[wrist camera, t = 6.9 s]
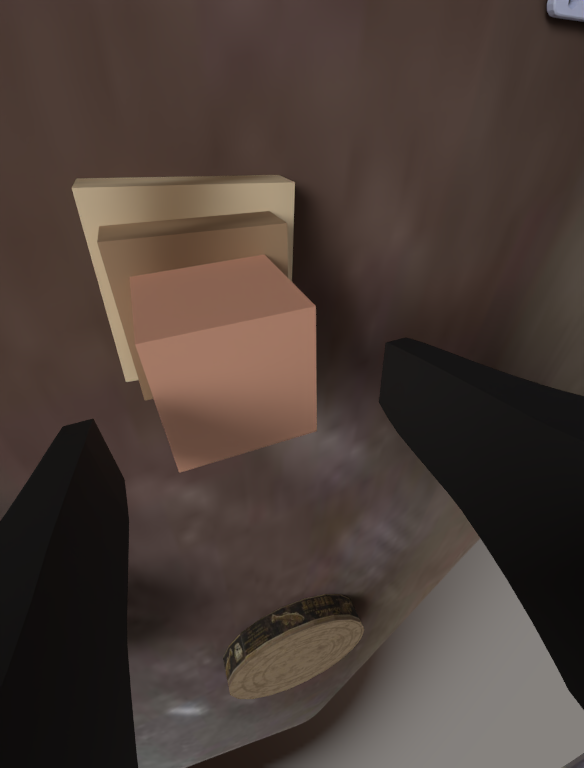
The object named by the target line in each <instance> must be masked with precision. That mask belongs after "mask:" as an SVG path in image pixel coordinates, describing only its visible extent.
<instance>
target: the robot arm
mask: <svg viewBox="0 0 584 768" xmlns="http://www.w3.org/2000/svg"><path fill="white" fill-rule="evenodd" d="M568 3H569V0H548V2H547V12H548V14H549V16H551V17H555V18H561V19H568V20H574V21H581V22H584V0H570V3H569V5H568ZM379 403H380V405H381V407H382V408H383V410H384V412H385V413H386V415H387V417H388V418H389V420H390V422H391V423H392V425H393V426H394V428H395V429H396V431H397V432H398V434H399V435H400V436H401V437H402V439H403V440H404V441H405V442H406V443H407V445H408V446H409V447H410V448H411V450H412V451H413V452H414V453H415V454H416V456H417V457H418V458H419V459H420V460H421V461H422V463H423V464H424V465H425V466H426V467H427V469H428V470H429V471H430V472H431V473H432V475H433V476H434V477H435V478H436V479H437V481H438V482H439V483H440V484H441V485H442V486H443V488H444V489H445V490H446V491H447V492H448V494H449V495H450V496H451V497H452V499H453V500H454V501H455V502H456V504H457V505H458V506H459V508H460V509H461V510H462V512H463V513H464V515H465V516H466V518H467V519H468V521H469V522H470V523H471V525H472V526H473V528H474V529H475V531H476V532H477V534H478V535H479V537H480V538H481V540H482V541H483V543H484V544H485V546H486V547H487V549H488V550H489V552H490V553H491V555H492V556H493V558H494V560H495V561H496V563H497V564H498V566H499V568H500V569H501V571H502V572H503V574H504V575H505V577H506V578H507V580H508V582H509V584H510V585H511V587H512V589H513V590H514V592H515V594H516V595H517V597H518V599H519V600H520V602H521V604H522V605H523V607H524V609H525V611H526V612H527V614H528V616H529V617H530V619H531V621H532V622H533V624H534V626H535V628H536V630H537V632H538V633H539V635H540V637H541V639H542V641H543V642H544V644H545V646H546V648H547V650H548V652H549V653H550V655H551V657H552V659H553V661H554V663H555V665H556V666H557V668H558V670H559V672H560V674H561V676H562V678H563V680H564V682H565V684H566V686H567V688H568V690H569V691H570V693H571V694H572V695H573V696H574V698H575V699H576V700H577V702H578V703H579V704H580V706H581V707H582V708H583V709H584V396H580V395H576V394H573V393H569V392H565V391H561V390H557V389H554V388H551V387H547V386H544V385H540V384H537V383H534V382H531V381H528V380H525V379H522V378H519V377H516V376H513V375H510V374H507V373H504V372H501V371H498V370H495V369H493V368H490V367H487V366H484V365H482V364H479V363H476V362H474V361H471V360H468V359H466V358H463V357H460V356H458V355H455V354H452V353H450V352H447V351H444V350H442V349H439V348H436V347H434V346H431V345H428V344H425V343H422V342H419V341H416V340H413V339H409V338H402V339H398V340H394V341H391V342H387V343H386V344H385V353H384V362H383V371H382V379H381V388H380V397H379ZM128 549H129V516H128V506H127V497H126V489H125V480H124V478H123V476H122V474H121V472H120V470H119V468H118V466H117V464H116V462H115V460H114V458H113V456H112V454H111V452H110V450H109V448H108V446H107V444H106V442H105V441H104V439H103V437H102V435H101V433H100V431H99V429H98V427H97V425H96V423H95V421H94V419H90V420H86V421H82V422H79V423H75V424H71V425H67V426H63V427H62V429H61V430H60V432H59V433H58V435H57V436H56V438H55V439H54V441H53V442H52V444H51V445H50V447H49V448H48V450H47V451H46V453H45V455H44V456H43V458H42V459H41V461H40V462H39V464H38V466H37V467H36V469H35V470H34V472H33V473H32V475H31V476H30V478H29V480H28V481H27V483H26V484H25V486H24V487H23V489H22V490H21V492H20V493H19V495H18V496H17V498H16V499H15V500H14V502H13V503H12V505H11V506H10V508H9V509H8V511H7V512H6V514H5V515H4V517H3V518H2V520H1V521H0V768H138V762H137V753H136V743H135V732H134V721H133V710H132V700H131V687H130V674H129V661H128V648H127V592H128ZM562 768H584V753H583V754H582V755H580V756H579V757H577V758H576V759H575V760H573V761H571V762H570V763H568V764H567V765H565V766H564V767H562Z"/></svg>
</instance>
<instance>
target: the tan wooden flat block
mask: <svg viewBox="0 0 584 768" xmlns="http://www.w3.org/2000/svg"><path fill="white" fill-rule="evenodd" d="M97 244H98V247H99V250H100V254H101V257H102V260H103V264H104V267H105V270H106V274H107V277H108V280H109V283H110V287H111V290H112V293H113V297H114V300H115V303H116V307H117V310H118V313H119V317H120V320H121V323H122V326H123V330H124V333H125V336H126V340H127V343H128V346H129V350H130V353H131V356H132V359H133V363H134V366H135V369H136V373H137V376H138V379H139V383H140V386H141V389H142V393H143V396H144V399H145V400H150V399H154V398H153V395H152V392H151V389H150V386H149V384H148V381H147V378H146V375H145V372H144V369H143V366H142V363H141V360H140V357H139V355H138V352H137V349H136V346H135V338H134V326H133V314H132V302H131V289H130V277H132V276H138V275H144V274H150V273H156V272H162V271H168V270H174V269H180V268H186V267H192V266H198V265H204V264H210V263H216V262H222V261H228V260H234V259H240V258H246V257H252V256H258V255H263V254H265V255H266V256H267V258H268V259H269V260H270V261H271V262H272V263H273V264H274V265H275V266H276V267H277V268H278V269H279V270H280V271H281V272H282V273H283V274H284V275H285V276H286V277H287V278H288V230H287V222H285V221H284V220H282V219H281V218H279V217H278V216H276V215H275V214H273V213H272V212H270V211H263V212H252V213H241V214H230V215H218V216H207V217H196V218H185V219H174V220H163V221H151V222H140V223H129V224H118V225H107V226H99V230H98V239H97Z"/></svg>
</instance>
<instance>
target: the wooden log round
mask: <svg viewBox="0 0 584 768" xmlns="http://www.w3.org/2000/svg"><path fill="white" fill-rule="evenodd" d="M363 631H364V628H363V626H362V623H361V621H360V619H359V617H358V615H357V613H356V611H355V609H354V606H353V604H352V602H351V600H350V598H348V597H345V596H343V595H340V594H324V595H319V596H315V597H310V598H306V599H303V600H300V601H297V602H295V603H292V604H289V605H287V606H284V607H282V608H280V609H278V610H276V611H274V612H272V613H271V614H269V615H267V616H265V617H263V618H261V619H260V620H258V621H257V622H255V623H254V624H253V625H251V626H250V627H249V628H247V629H246V630H244V631H243V632H242V633H241V634H240V635H239V636H238V637H237V638H236V639H235V640H234V641H233V642H232V643H231V644H230V645H229V647H228V649H227V651H226V653H225V655H224V657H223V660H224V665H225V670H226V675H227V681H228V686H229V691H230V695H232V696H234V697H236V698H238V699H254V698H260V697H265V696H269V695H272V694H275V693H278V692H281V691H284V690H287V689H290V688H292V687H294V686H296V685H298V684H301V683H303V682H305V681H307V680H309V679H311V678H313V677H314V676H316V675H318V674H320V673H321V672H323V671H325V670H326V669H328V668H329V667H331V666H332V665H334V664H335V663H337V662H338V661H339V660H341V659H342V658H343V657H344V656H345V655H346V654H348V653H349V652H350V651H351V650H352V649H353V648H354V647H355V646H356V644H357V643H358V642H359V640H360V639H361V637H362V634H363Z"/></svg>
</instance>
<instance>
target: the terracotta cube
mask: <svg viewBox="0 0 584 768" xmlns="http://www.w3.org/2000/svg"><path fill="white" fill-rule="evenodd" d="M130 289H131V302H132V314H133V326H134V338H135V346H136V349H137V352H138V355H139V357H140V360H141V363H142V366H143V369H144V372H145V375H146V378H147V381H148V384H149V386H150V389H151V392H152V395H153V398H154V401H155V404H156V407H157V410H158V412H159V415H160V418H161V421H162V424H163V427H164V430H165V433H166V436H167V439H168V441H169V444H170V447H171V450H172V453H173V456H174V459H175V462H176V465H177V467H178V470H179V473H180V472H183V471H187V470H190V469H193V468H197V467H200V466H203V465H206V464H210V463H213V462H216V461H220V460H223V459H226V458H230V457H233V456H236V455H239V454H243V453H246V452H249V451H253V450H256V449H259V448H263V447H266V446H269V445H272V444H276V443H279V442H282V441H286V440H289V439H292V438H296V437H299V436H302V435H305V434H309V433H312V432H315V431H317V394H316V306H315V305H314V304H313V303H312V302H311V301H310V300H309V299H308V298H307V297H306V296H305V295H304V294H303V293H302V292H301V291H300V290H299V289H298V288H297V287H296V286H295V285H294V284H293V283H292V282H291V281H290V280H289V279H288V278H287V277H286V276H285V275H284V274H283V273H282V272H281V271H280V270H279V269H278V268H277V267H276V266H275V265H274V264H273V263H272V262H271V261H270V260H269V259H268V258H267V256H266V255H265V254H263V255H258V256H252V257H246V258H240V259H234V260H228V261H222V262H216V263H210V264H204V265H198V266H192V267H186V268H180V269H174V270H168V271H162V272H156V273H150V274H144V275H138V276H132V277H130Z"/></svg>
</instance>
